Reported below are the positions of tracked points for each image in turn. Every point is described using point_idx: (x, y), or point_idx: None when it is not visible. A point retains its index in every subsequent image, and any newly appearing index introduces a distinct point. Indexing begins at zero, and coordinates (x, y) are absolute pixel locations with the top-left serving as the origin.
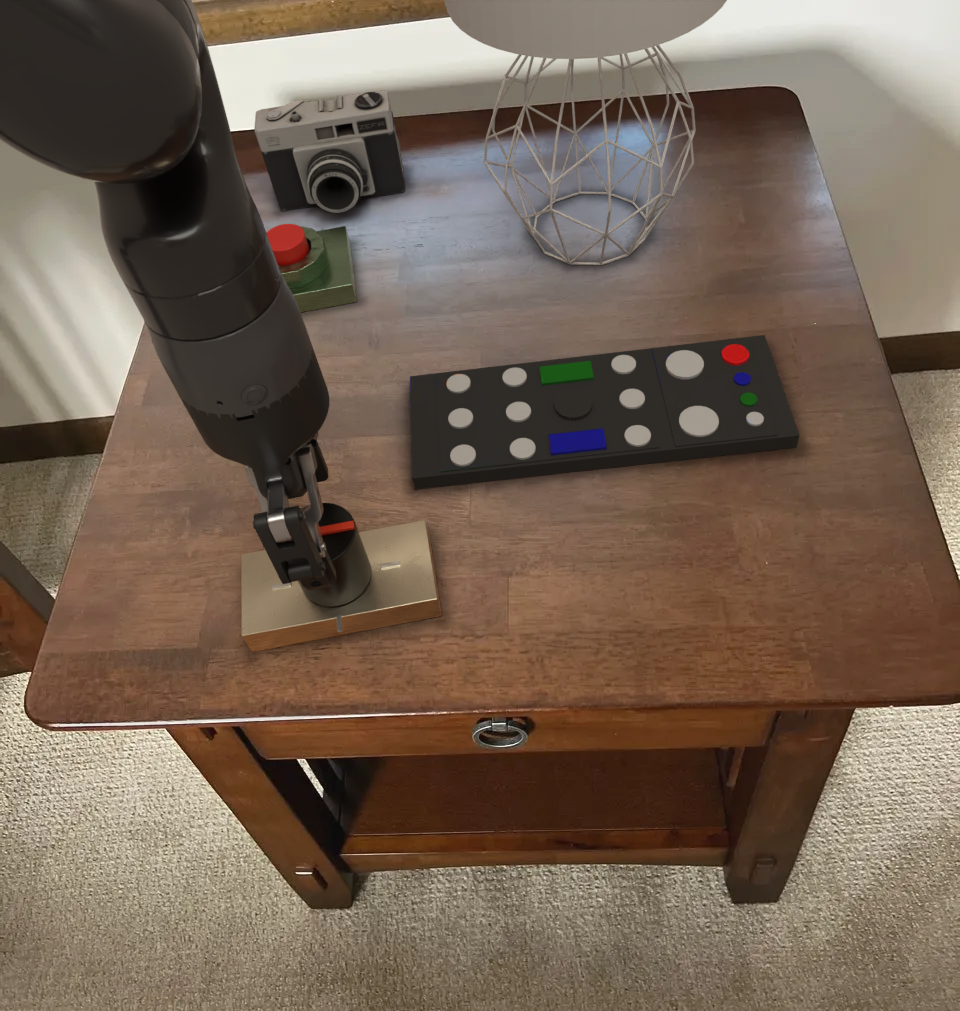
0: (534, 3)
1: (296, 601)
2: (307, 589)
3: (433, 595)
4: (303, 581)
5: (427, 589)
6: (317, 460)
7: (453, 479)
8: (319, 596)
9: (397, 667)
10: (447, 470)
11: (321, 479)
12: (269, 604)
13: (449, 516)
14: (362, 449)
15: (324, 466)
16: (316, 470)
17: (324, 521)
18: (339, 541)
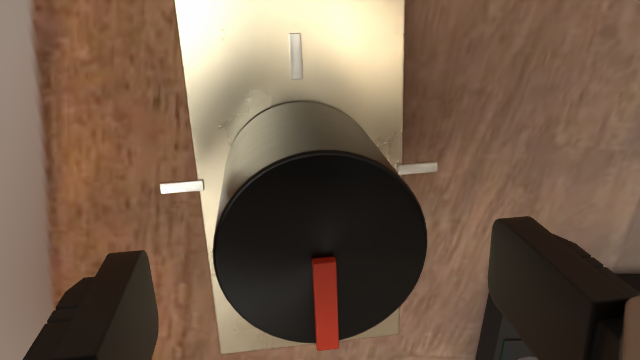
0: None
1: (249, 91)
2: (73, 286)
3: (228, 350)
4: (50, 319)
5: (243, 339)
6: (536, 341)
7: (487, 346)
8: (225, 168)
9: (128, 247)
10: (503, 351)
11: (492, 279)
12: (249, 27)
13: (420, 327)
14: (615, 186)
15: (517, 331)
16: (514, 300)
17: (358, 270)
18: (284, 309)
